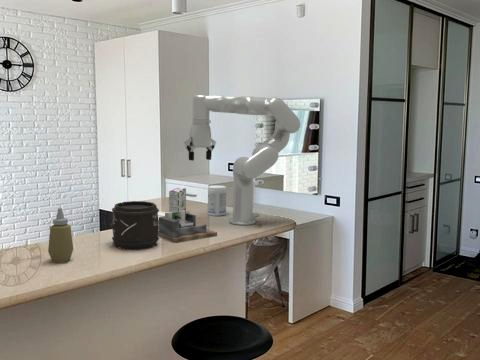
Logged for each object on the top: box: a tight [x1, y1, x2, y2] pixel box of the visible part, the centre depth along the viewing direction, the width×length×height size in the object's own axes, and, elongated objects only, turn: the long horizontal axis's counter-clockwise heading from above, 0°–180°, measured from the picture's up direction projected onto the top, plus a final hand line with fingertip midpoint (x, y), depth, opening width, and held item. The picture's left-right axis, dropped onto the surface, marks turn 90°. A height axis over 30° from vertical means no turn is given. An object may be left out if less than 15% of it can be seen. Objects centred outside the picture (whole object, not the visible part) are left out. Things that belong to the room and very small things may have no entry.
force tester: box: [158, 209, 218, 244], centre depth 199 cm, size 21×16×9 cm
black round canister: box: [110, 200, 160, 251], centre depth 183 cm, size 18×18×16 cm
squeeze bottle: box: [47, 207, 74, 263], centre depth 159 cm, size 8×8×18 cm
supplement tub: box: [207, 184, 227, 217], centre depth 244 cm, size 10×10×15 cm
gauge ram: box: [175, 212, 197, 228], centre depth 200 cm, size 7×9×7 cm
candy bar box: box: [168, 187, 187, 213], centre depth 219 cm, size 11×5×16 cm, turn 168°
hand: (200, 159), depth 217 cm, fingers open, 9 cm apart
